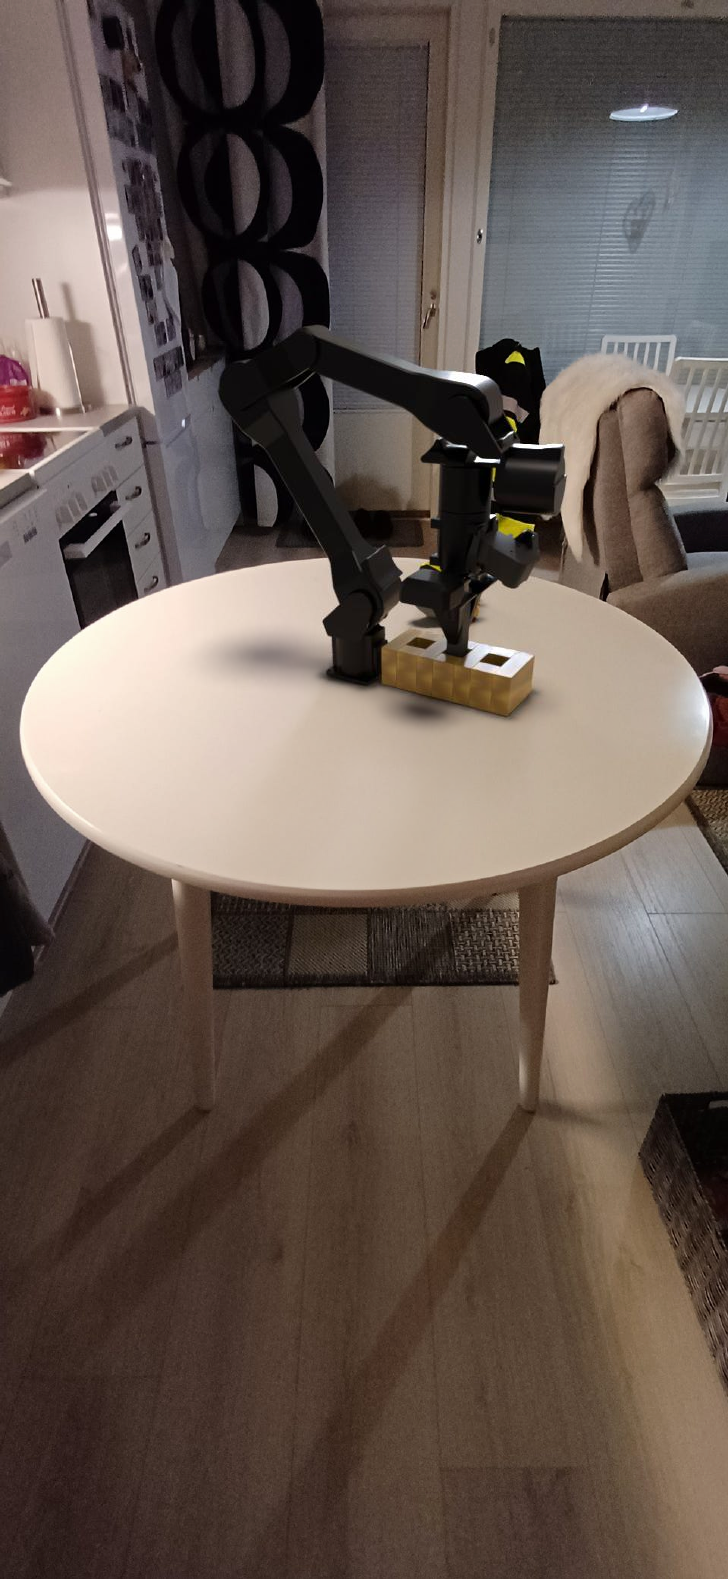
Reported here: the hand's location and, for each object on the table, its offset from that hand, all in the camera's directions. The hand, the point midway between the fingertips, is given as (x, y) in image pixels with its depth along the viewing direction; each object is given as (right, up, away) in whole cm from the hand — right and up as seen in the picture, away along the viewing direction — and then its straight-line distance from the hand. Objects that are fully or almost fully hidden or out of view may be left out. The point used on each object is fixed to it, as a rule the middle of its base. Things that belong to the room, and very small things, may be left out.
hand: (457, 640), depth 93 cm
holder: (0, -5, +3) cm, 6 cm away
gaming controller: (+1, +9, +25) cm, 27 cm away
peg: (0, -2, +1) cm, 3 cm away
